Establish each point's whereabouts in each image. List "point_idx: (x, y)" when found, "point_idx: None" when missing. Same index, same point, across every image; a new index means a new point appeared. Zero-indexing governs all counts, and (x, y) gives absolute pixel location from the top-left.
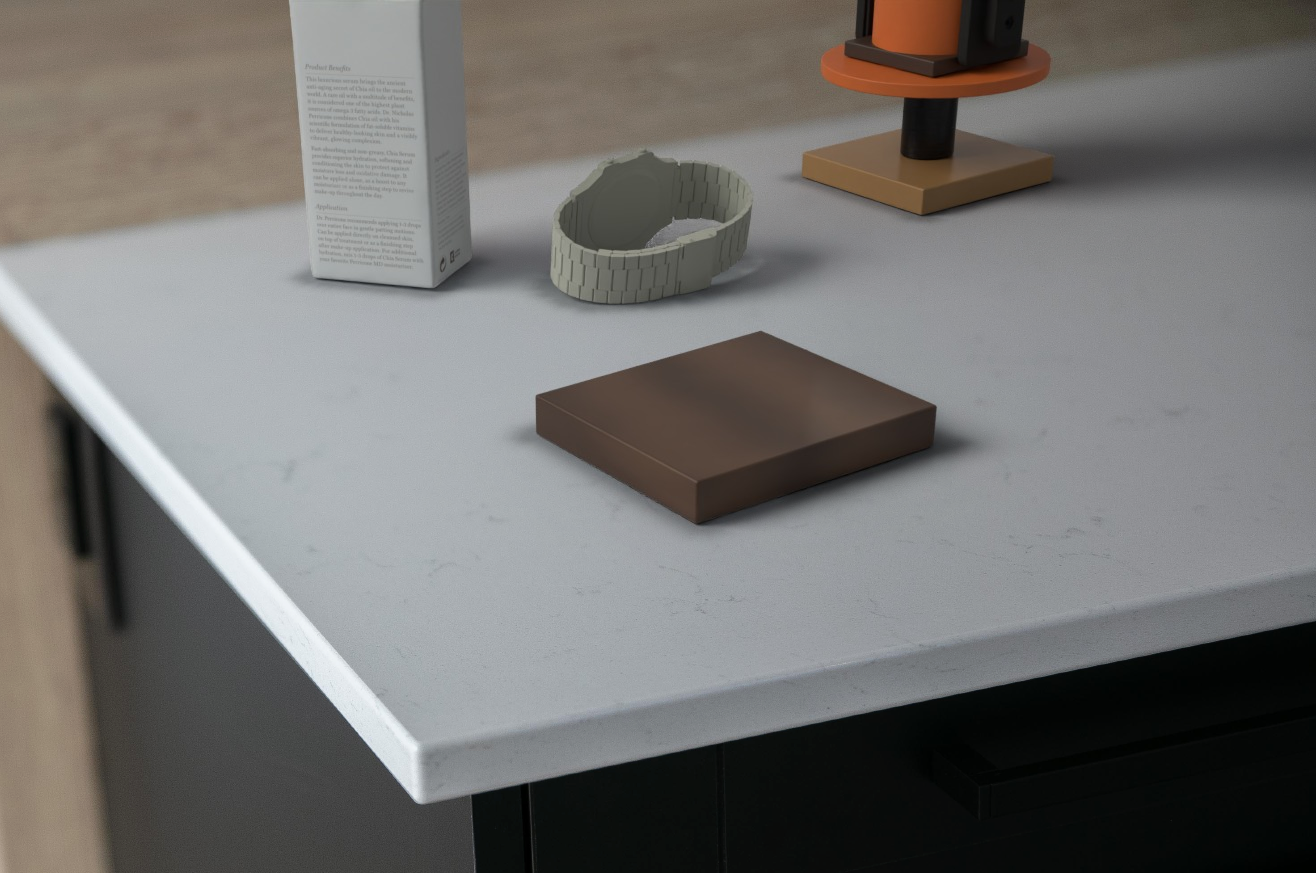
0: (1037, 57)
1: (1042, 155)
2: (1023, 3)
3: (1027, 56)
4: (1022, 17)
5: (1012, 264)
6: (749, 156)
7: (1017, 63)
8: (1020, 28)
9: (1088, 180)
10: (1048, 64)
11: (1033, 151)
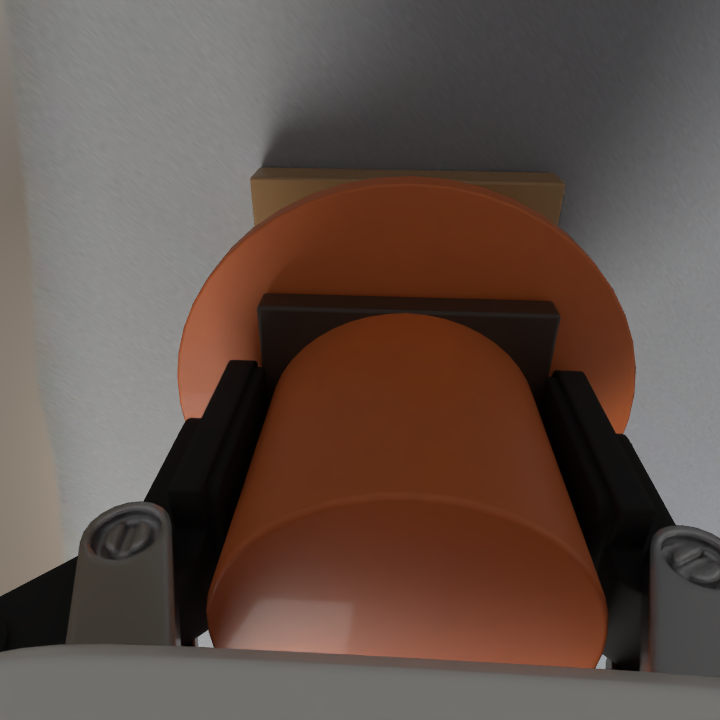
0: (571, 287)
1: (548, 199)
2: (649, 482)
3: (546, 292)
4: (637, 458)
5: (707, 457)
6: (150, 386)
7: (567, 350)
8: (627, 444)
9: (598, 115)
10: (622, 309)
11: (522, 192)
